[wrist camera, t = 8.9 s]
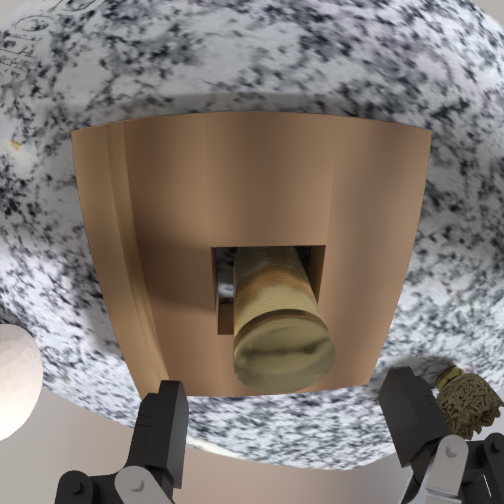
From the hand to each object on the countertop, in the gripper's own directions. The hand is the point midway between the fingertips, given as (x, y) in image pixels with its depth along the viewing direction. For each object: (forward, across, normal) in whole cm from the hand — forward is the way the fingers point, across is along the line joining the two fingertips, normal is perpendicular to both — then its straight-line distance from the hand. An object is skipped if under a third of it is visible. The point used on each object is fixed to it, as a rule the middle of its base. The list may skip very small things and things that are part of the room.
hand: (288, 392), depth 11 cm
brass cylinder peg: (+9, 0, 0) cm, 9 cm away
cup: (+10, -20, +15) cm, 27 cm away
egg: (+9, +21, +7) cm, 24 cm away
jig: (+9, 0, 0) cm, 9 cm away
